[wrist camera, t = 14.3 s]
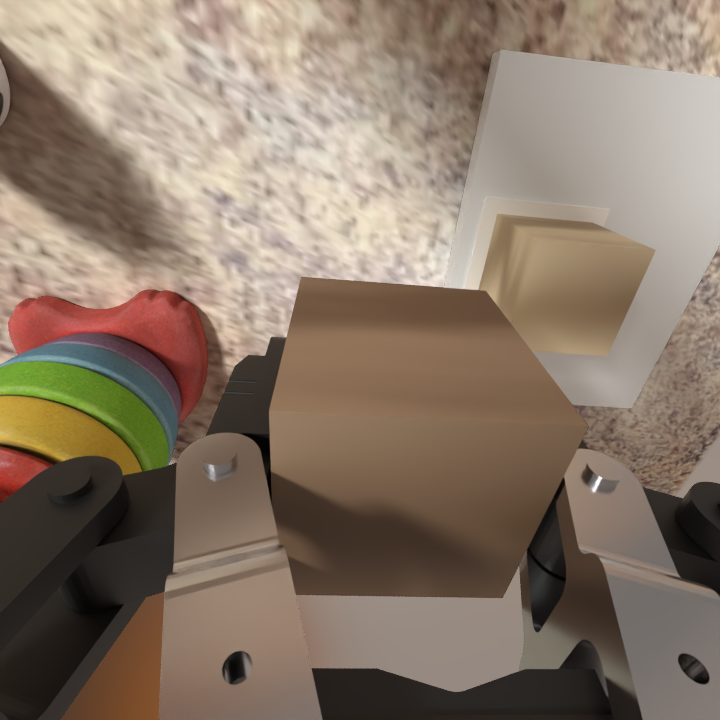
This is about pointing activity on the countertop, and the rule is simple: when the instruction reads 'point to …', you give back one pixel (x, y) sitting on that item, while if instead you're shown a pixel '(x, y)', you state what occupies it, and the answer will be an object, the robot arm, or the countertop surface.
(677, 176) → the build board
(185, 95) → the countertop surface
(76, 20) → the countertop surface
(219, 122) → the countertop surface
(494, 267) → the oak block
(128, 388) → the stacking bear
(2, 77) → the supplement bottle
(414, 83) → the countertop surface
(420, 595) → the walnut block
